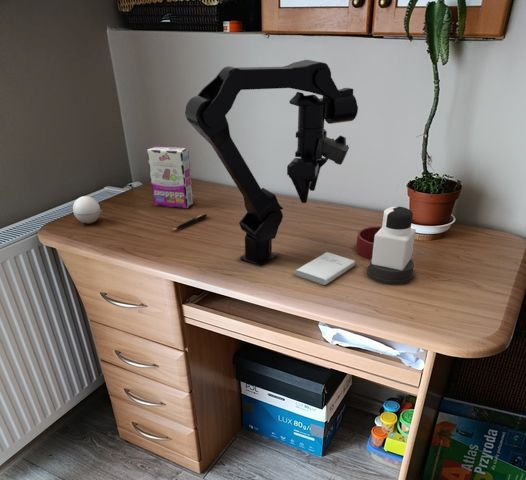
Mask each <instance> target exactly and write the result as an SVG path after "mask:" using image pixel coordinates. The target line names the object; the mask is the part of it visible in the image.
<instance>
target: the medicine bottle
mask: <svg viewBox="0 0 526 480" xmlns="http://www.w3.org/2000/svg"><path fill="white" fill-rule="evenodd" d="M413 217H414V212H413V211H412V210H411V209H409V208H407V207H404V206H389V207H387V208H386V209H385V210H384V211H383V215H382V223H381V226H382V228H381V229H380V230H379V231H378V232H377V233H376V234H375V238H374V242H373V243H374V246H373V255H372V265H377V266H382V267H387V268H391V269H396V270H401V271H402V270H403V269H404V268H405V266H406V265H407V263H408V262H409V261H410V259H411V260H412V256H413V250H414V243H415V237H416V233H417V230H416V229H415V228H412V225H413V224H412V223H413Z"/></svg>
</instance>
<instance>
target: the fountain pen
mask: <svg viewBox="0 0 526 480" xmlns="http://www.w3.org/2000/svg"><path fill="white" fill-rule="evenodd" d="M207 216H208V214H207V213H202V214H200V215H197V216H196V217H193V218H191V219H189V220H187V221H185V222H183V223H181V224H179V225H177V226H175V228H173V229H172V231H174V230H176V231H177V230H180V229H182V228H185V227H188V226H190V225H192V224H194V223H197V222H200V221H202V220H203V219H205V218H206V217H207Z"/></svg>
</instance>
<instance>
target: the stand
mask: <svg viewBox="0 0 526 480" xmlns="http://www.w3.org/2000/svg"><path fill="white" fill-rule="evenodd" d="M414 266H415V261H413V260H412V258H411V259H410V261H409V262H408V263H407V265H406V266H405V268H404V269H403V270H402V271H401V270H396V269H391V268H387V267H382V266H377V265H372V258H371V259H369V265H368V266H367V269H366V274H367V276H368V278H369V279H371V280H373V282H377V283H379V284H384V285H392V286H399V285H400V286H401V285H405V284H408V283H410V282H411V281H413V280H414V277H415V270H414Z"/></svg>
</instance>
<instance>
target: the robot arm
mask: <svg viewBox="0 0 526 480" xmlns="http://www.w3.org/2000/svg"><path fill="white" fill-rule="evenodd" d="M275 89H276V90H277V89H291V90H298V91H296V93H295V95H294V96H293V97H291V98H290V100H289V104H290V105H291V106H296V107H297V109H298V110H297V111H298V113H297V116H298V117H297V131H296V132H295V138H296V139H297V146H296V147H297V148H296V151H295V152H294V158H293V159H292V160H291V161H290V162H289V163H288V165H287V166H286V168H287V169H286V170H287V171H286V176H288V177H289V178H290V179H291V181H292V184H293V185H294V188H295V191H296V193H297V195H298V197H299V198H298V199H299V200H300V203H301V204H306V203H308V197H309V193H310V191H312V192H314V191H315V190H316V186H317V183H318V179H319V175H320V172H321V168H322V167H323V166H324V165H325V164H326V163H327V162H328V161H329V160H330V161H332V162H334V163H335V164H337V165H339V166H341V165H342V164H343V162H344V160H345V158H346V156H347V154H348V152H349V149H350V147H349V144H347V137H345V136H343V135H339V136H338V137H336V138H330V137H328V136H327V135H328V131H327V130H326V129H325V122H326V123H327V124H329V125H331V124H341V123H349V122H353V121H354V120H355V119H356V118H357V116H358V111H359V105H358V101H357V99H356V96H355V95H354V88H353V87H352V88H351V87H343V88H339V89H338V87H337V85H336V83H335V81H334V80H333V78H332V71H331V68H330V66H329V64H327V63H326V62H321V61H316V60H312V59H304V60H303V59H302V60H299V61H295V62H292V63H289V64H287V65H284V66H249V67H246V66H245V67H241V66H240V67H234V66H230V65H227V66H224V67H223V68H222V69H220V71H219V72H218V74H217V75H216V76H215V77H214V78H213V79H212V80H211V81H210V82H209V83H207V84H206V85H205V86H204V87H203V88H202V89H201V90H200V91H199V93H197V95H195V96H193V97H191V98H190V99H189V100H188V102H187V103H186V106H185V111H184V116H185V118H186V120H187V122H188V123H189V124H190V126H191V127H193V128H194V130H196V132H197V133H198V134H199V135H200V136H201V137H202V138H203V139H205V141H206V142H207V143H208V144H209V145H210V146H211V147H212V148H213V151H214V152H215V154H216V155H217V157H218V159H219V160H220V162H221V163H222V165H223V166H224V168H225V169H226V171H227V173H228V174H229V176H230V178H231V179H232V181H233V183H234V184H235V186H236V187H237V189H238V190H239V192H240V193H241V195H242V197H243V201H244V207H245V210H246V213H245V214H244V215H243V217H242V218H241V219H240V221H239V222H238V224H239V227H240V230H242V231H244V232H245V236H244V255H242V256H240V261H244V262H247V263H250V264H253V265H256V266H260V267H262V266H264V265H266V264H267V263H269V262H270V261H272V260H274V259H276V258H277V254H275V253H273V250H272V248H273V247H272V242H273V240H274V239H275V238H276V236H277V234H278V230H279V227H280V225H281V224H282V222H283V218H284V214H283V211H282V210H283V209H284V207H283V206H281V205H280V203H279V200H278V198H277V196H276V194H274V193H273V192H271V191H270V190H268V189H266V188H264V187H262V188H261V186H260V185H259V182H258V181H257V179H256V178H255V175H254V174H253V173H252V171H251V169H250V168H249V165H248V164H247V162H246V161H245V159H244V157H243V155H242V154H241V152H240V151H239V149H238V147H237V145H236V144H235V142H234V139H232V136H231V131H230V125H229V121H228V119H227V117H226V116H227V115H228V113H229V112H230V110H231V109H232V108H233V105H234V103H235V101H236V98H237V96H238V95H239V94H240V92H241V91H243V90H244V91H247V90H250V91H251V90H275ZM300 91H301V92H300ZM303 92H307V93H312V94H307V95H306V94H304V93H303ZM317 95H319V96H322V97H320V98H319V97H318V96H317Z"/></svg>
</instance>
